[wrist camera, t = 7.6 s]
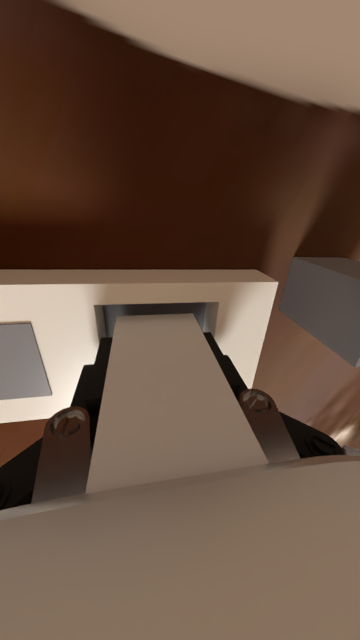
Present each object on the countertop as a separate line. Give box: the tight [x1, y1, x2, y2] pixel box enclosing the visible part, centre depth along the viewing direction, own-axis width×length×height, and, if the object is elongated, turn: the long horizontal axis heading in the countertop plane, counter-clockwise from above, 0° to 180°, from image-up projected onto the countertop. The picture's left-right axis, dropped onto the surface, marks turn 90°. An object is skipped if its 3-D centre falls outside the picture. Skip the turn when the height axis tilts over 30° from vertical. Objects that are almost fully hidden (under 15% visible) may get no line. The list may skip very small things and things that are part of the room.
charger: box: [85, 313, 269, 494], centre depth 9 cm, size 4×4×8 cm
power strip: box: [0, 270, 278, 423], centre depth 12 cm, size 18×8×3 cm, turn 87°
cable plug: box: [279, 257, 360, 367], centre depth 12 cm, size 4×4×7 cm
